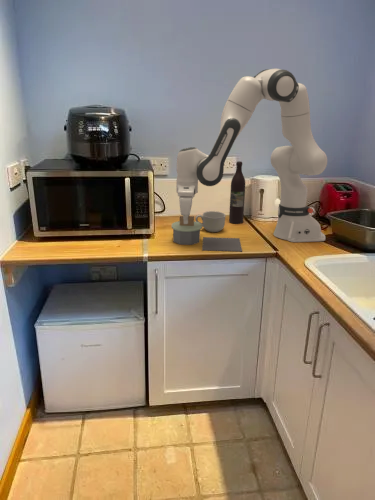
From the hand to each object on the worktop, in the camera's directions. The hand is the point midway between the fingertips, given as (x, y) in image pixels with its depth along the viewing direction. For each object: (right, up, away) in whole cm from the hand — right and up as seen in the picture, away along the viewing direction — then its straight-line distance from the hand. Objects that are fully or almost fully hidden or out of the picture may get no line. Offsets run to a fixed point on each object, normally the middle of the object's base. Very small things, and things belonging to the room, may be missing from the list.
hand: (186, 220), depth 160 cm
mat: (+15, -10, -1) cm, 18 cm away
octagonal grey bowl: (0, -8, +3) cm, 9 cm away
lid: (0, -3, +1) cm, 3 cm away
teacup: (+11, -3, +18) cm, 21 cm away
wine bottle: (+25, +1, +31) cm, 40 cm away
